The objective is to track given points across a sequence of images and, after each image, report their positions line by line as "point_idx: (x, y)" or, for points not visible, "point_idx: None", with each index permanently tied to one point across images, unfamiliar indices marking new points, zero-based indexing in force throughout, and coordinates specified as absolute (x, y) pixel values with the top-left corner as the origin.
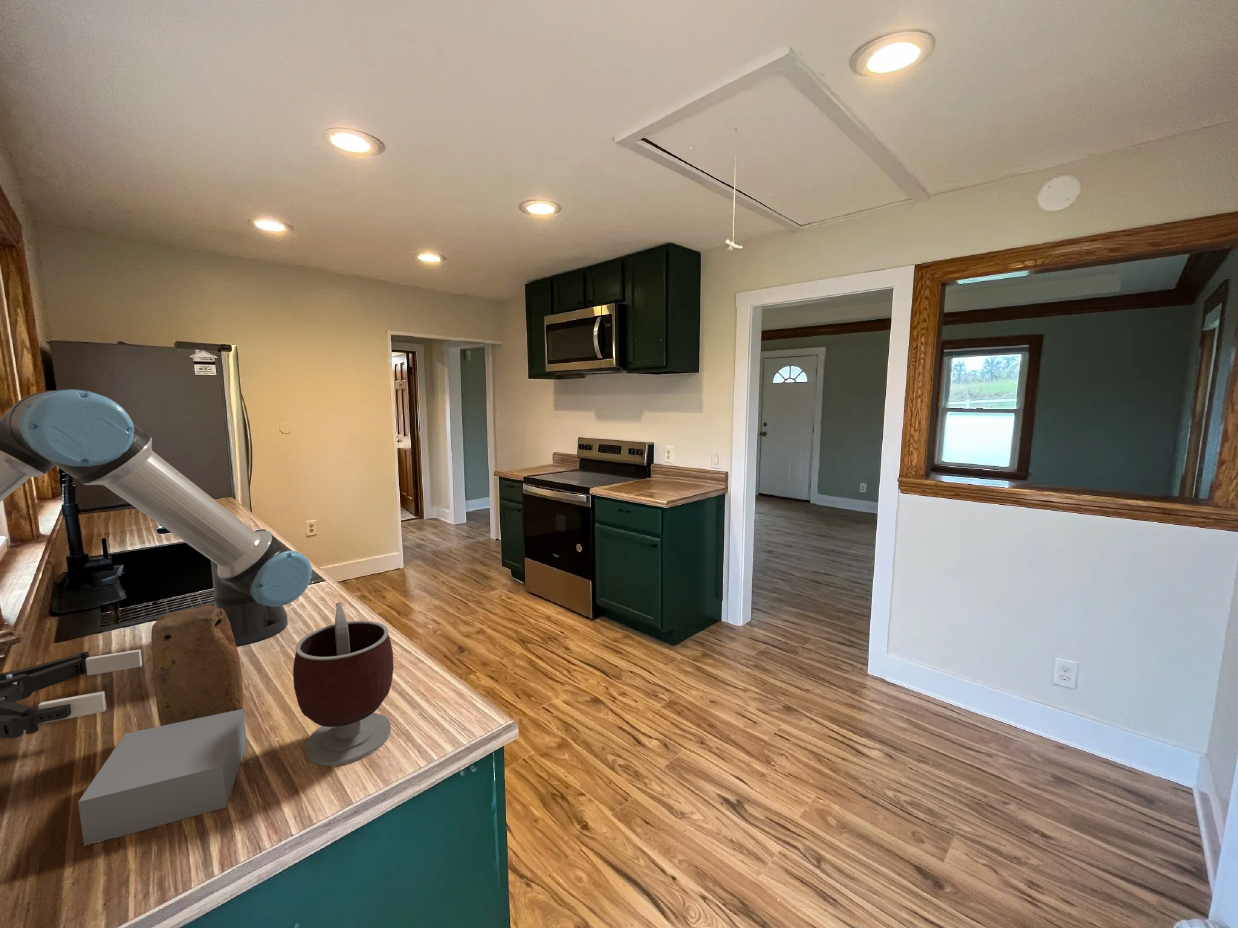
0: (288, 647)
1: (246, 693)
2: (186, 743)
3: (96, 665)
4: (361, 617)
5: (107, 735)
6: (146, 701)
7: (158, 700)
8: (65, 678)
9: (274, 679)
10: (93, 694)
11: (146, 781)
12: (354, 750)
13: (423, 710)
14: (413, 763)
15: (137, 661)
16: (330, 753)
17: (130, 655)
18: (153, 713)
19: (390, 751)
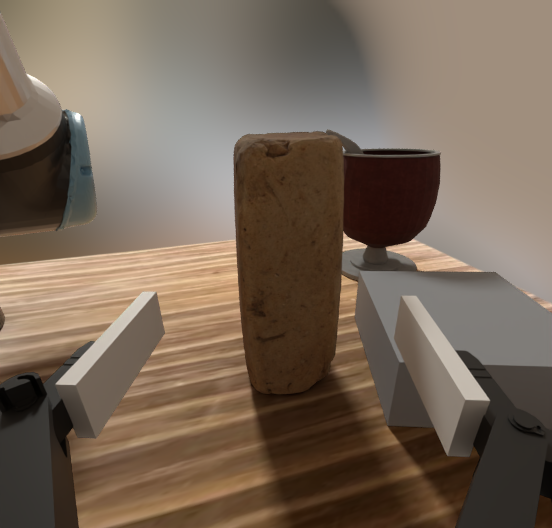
0: (85, 303)
1: (206, 329)
2: (443, 298)
3: (105, 385)
4: (80, 259)
5: (204, 515)
6: (75, 468)
7: (336, 310)
8: (73, 498)
9: (187, 309)
10: (416, 307)
11: (544, 314)
12: (401, 261)
13: (344, 241)
14: (420, 247)
15: (159, 322)
16: (402, 269)
17: (148, 310)
18: (163, 438)
19: (401, 253)
